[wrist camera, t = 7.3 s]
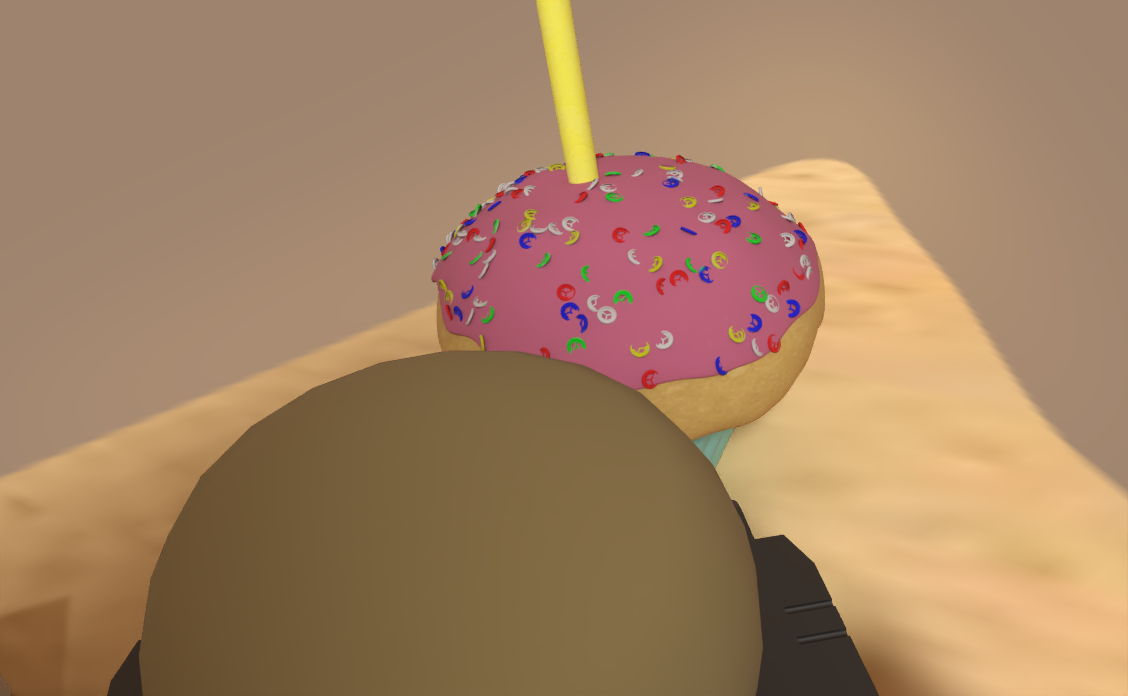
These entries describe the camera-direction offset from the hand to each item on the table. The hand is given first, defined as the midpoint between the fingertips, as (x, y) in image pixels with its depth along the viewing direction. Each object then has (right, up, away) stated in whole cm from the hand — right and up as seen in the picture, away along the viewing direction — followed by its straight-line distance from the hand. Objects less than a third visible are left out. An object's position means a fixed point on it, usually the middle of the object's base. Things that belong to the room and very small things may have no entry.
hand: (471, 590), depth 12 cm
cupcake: (+3, +1, +12) cm, 12 cm away
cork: (+1, -7, +2) cm, 7 cm away
